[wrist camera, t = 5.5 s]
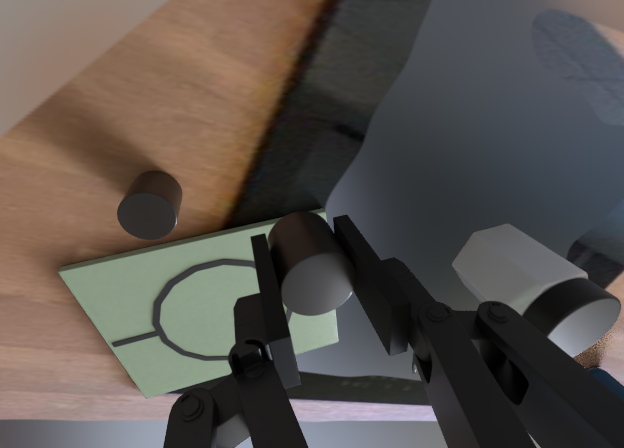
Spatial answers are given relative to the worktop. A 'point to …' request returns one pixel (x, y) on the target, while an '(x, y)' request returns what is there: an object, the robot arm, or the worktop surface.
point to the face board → (181, 306)
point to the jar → (537, 286)
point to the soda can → (608, 381)
